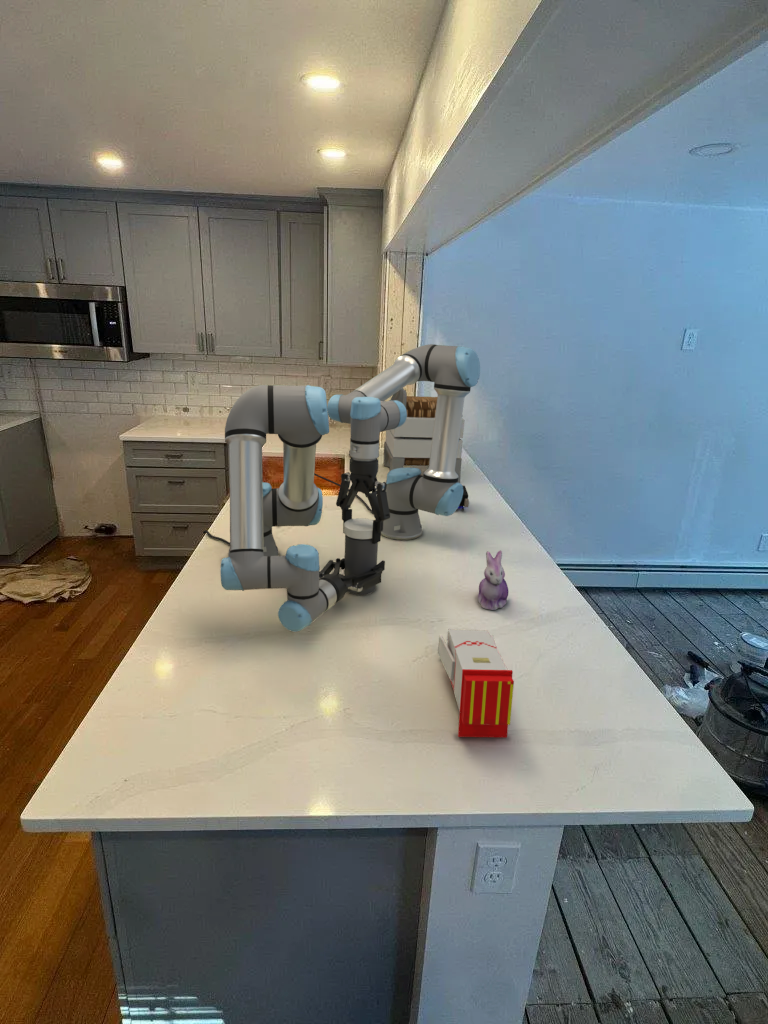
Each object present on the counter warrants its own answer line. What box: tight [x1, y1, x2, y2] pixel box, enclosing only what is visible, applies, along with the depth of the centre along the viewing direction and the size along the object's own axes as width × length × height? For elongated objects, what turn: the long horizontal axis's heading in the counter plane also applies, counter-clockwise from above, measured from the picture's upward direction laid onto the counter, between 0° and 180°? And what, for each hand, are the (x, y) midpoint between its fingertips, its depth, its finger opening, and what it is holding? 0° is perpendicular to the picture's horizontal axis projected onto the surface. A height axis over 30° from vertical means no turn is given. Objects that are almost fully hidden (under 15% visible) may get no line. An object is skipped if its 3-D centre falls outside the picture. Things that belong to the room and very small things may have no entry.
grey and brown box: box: [383, 387, 465, 483], centre depth 268 cm, size 34×33×41 cm
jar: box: [343, 534, 379, 596], centre depth 157 cm, size 9×9×18 cm
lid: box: [343, 517, 374, 539], centre depth 154 cm, size 10×10×2 cm
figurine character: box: [455, 484, 470, 512], centre depth 229 cm, size 7×8×15 cm
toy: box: [437, 628, 515, 738], centre depth 117 cm, size 12×13×30 cm
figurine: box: [477, 549, 509, 611], centre depth 153 cm, size 9×10×15 cm
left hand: (368, 561), depth 162 cm, fingers closed on jar, 9 cm apart
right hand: (361, 537), depth 155 cm, fingers closed on lid, 10 cm apart
